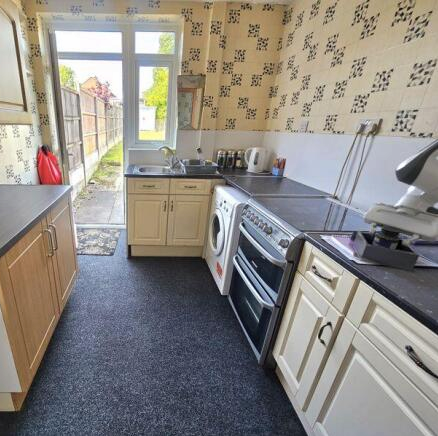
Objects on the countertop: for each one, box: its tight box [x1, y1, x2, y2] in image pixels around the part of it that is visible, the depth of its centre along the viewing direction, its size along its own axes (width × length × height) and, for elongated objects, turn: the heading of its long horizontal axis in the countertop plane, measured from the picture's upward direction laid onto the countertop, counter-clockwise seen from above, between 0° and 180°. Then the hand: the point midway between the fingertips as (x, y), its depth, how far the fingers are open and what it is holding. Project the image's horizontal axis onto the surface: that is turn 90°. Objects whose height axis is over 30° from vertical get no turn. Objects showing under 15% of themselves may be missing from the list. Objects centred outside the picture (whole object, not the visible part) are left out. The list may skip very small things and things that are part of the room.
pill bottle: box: [372, 226, 401, 249], centre depth 88 cm, size 6×6×11 cm
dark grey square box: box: [352, 230, 420, 272], centre depth 89 cm, size 14×14×7 cm
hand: (386, 239), depth 87 cm, fingers open, 8 cm apart
